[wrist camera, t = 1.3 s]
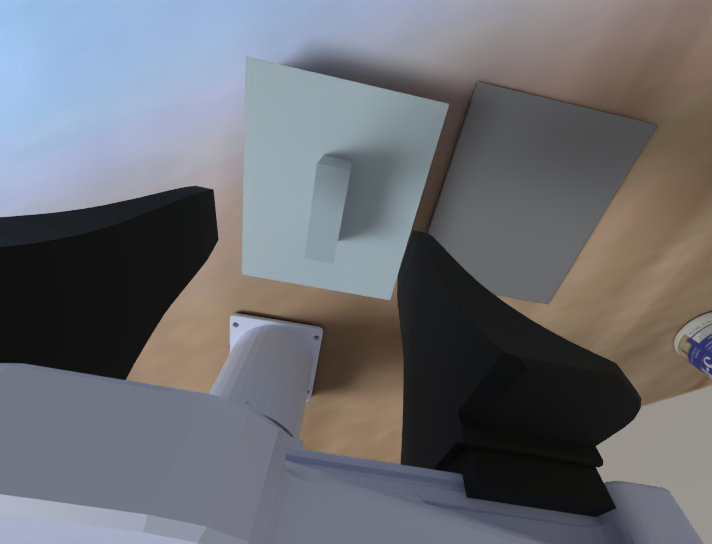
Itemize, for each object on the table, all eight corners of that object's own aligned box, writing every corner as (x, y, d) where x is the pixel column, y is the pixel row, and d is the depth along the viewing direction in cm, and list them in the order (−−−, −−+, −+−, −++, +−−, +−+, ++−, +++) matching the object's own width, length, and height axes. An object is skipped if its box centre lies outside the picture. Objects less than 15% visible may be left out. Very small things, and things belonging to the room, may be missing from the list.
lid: (389, 295, 22) (394, 329, 18) (244, 270, 21) (222, 300, 18) (446, 104, 16) (469, 102, 13) (250, 58, 15) (218, 43, 12)
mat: (546, 302, 25) (547, 304, 25) (411, 278, 24) (412, 279, 24) (653, 124, 19) (657, 124, 18) (476, 82, 18) (478, 81, 17)
